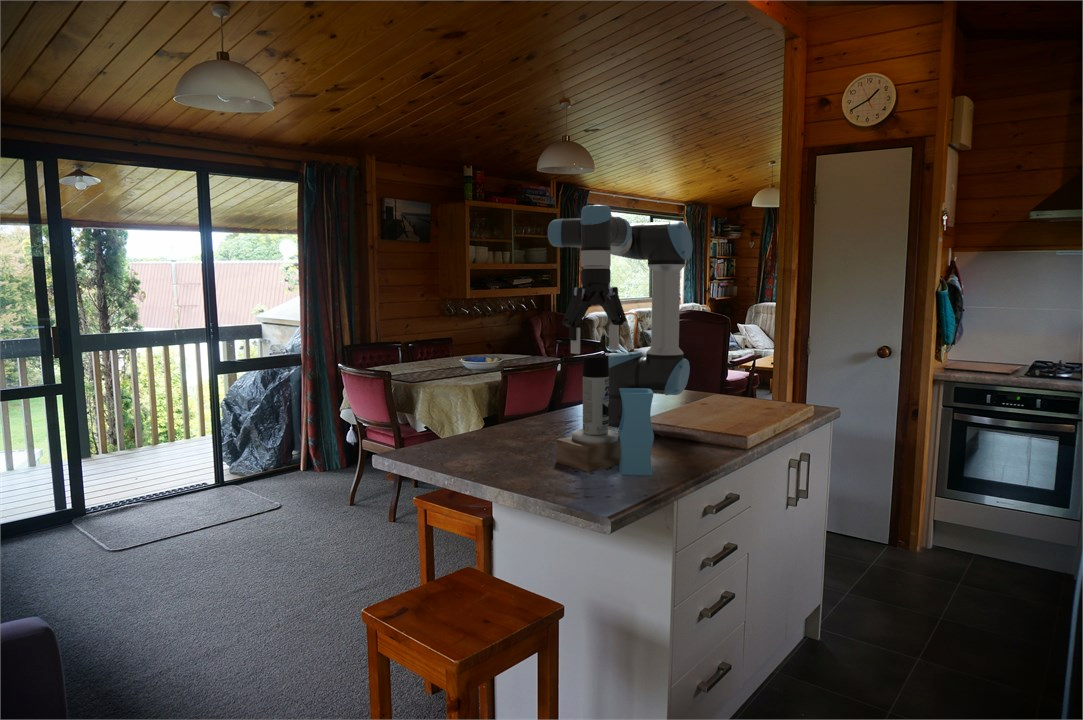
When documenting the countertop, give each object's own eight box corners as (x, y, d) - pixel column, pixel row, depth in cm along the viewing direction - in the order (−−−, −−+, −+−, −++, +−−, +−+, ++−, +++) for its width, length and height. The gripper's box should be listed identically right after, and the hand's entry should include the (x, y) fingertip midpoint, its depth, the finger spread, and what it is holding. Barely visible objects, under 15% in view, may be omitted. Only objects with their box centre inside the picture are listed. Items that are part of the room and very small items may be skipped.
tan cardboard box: (601, 452, 192) (601, 425, 191) (633, 461, 182) (633, 433, 181) (556, 462, 182) (556, 433, 181) (587, 472, 172) (588, 442, 172)
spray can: (606, 436, 177) (608, 358, 175) (580, 435, 179) (581, 357, 176) (609, 431, 184) (610, 355, 181) (583, 430, 185) (584, 354, 183)
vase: (617, 466, 178) (618, 388, 175) (649, 466, 177) (650, 388, 175) (620, 475, 170) (621, 393, 168) (653, 475, 170) (654, 393, 167)
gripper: (619, 268, 188) (618, 347, 191) (548, 267, 173) (548, 353, 175) (640, 268, 182) (639, 349, 185) (568, 267, 167) (568, 356, 169)
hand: (595, 351), depth 180 cm, fingers open, 13 cm apart
